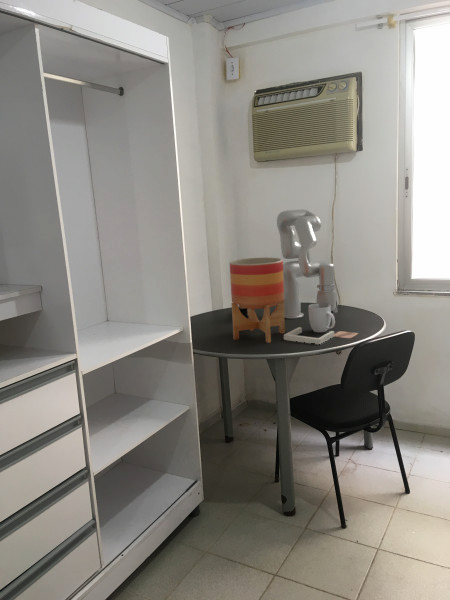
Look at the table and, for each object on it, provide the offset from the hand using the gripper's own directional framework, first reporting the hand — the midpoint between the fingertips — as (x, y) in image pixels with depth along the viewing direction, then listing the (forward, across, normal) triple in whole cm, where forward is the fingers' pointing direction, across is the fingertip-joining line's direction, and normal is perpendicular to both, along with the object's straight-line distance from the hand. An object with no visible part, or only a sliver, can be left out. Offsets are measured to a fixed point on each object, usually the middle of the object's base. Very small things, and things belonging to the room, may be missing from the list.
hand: (327, 323), depth 253 cm
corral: (+3, 0, -20) cm, 21 cm away
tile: (+3, +13, -9) cm, 16 cm away
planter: (+3, -24, -27) cm, 37 cm away
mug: (+3, 0, -7) cm, 8 cm away
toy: (+3, -57, +8) cm, 58 cm away
